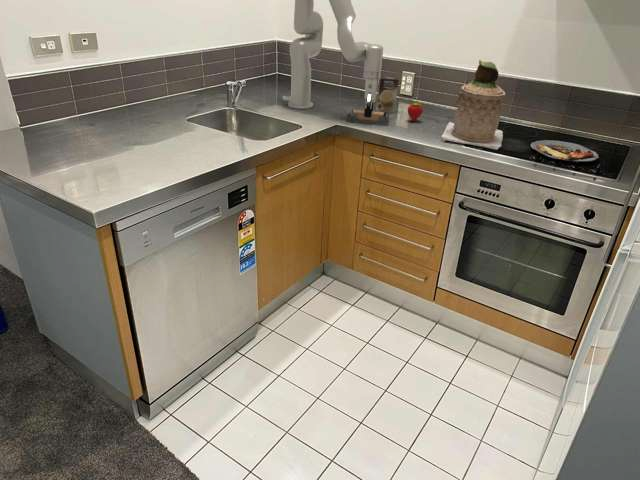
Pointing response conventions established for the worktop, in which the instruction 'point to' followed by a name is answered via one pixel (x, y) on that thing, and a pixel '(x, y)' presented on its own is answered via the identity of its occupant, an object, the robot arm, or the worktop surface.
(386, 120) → the drying rack
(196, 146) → the worktop surface
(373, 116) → the clay strip
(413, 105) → the strawberry
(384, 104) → the coffee box
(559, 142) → the food plate
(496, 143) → the cookie jar
